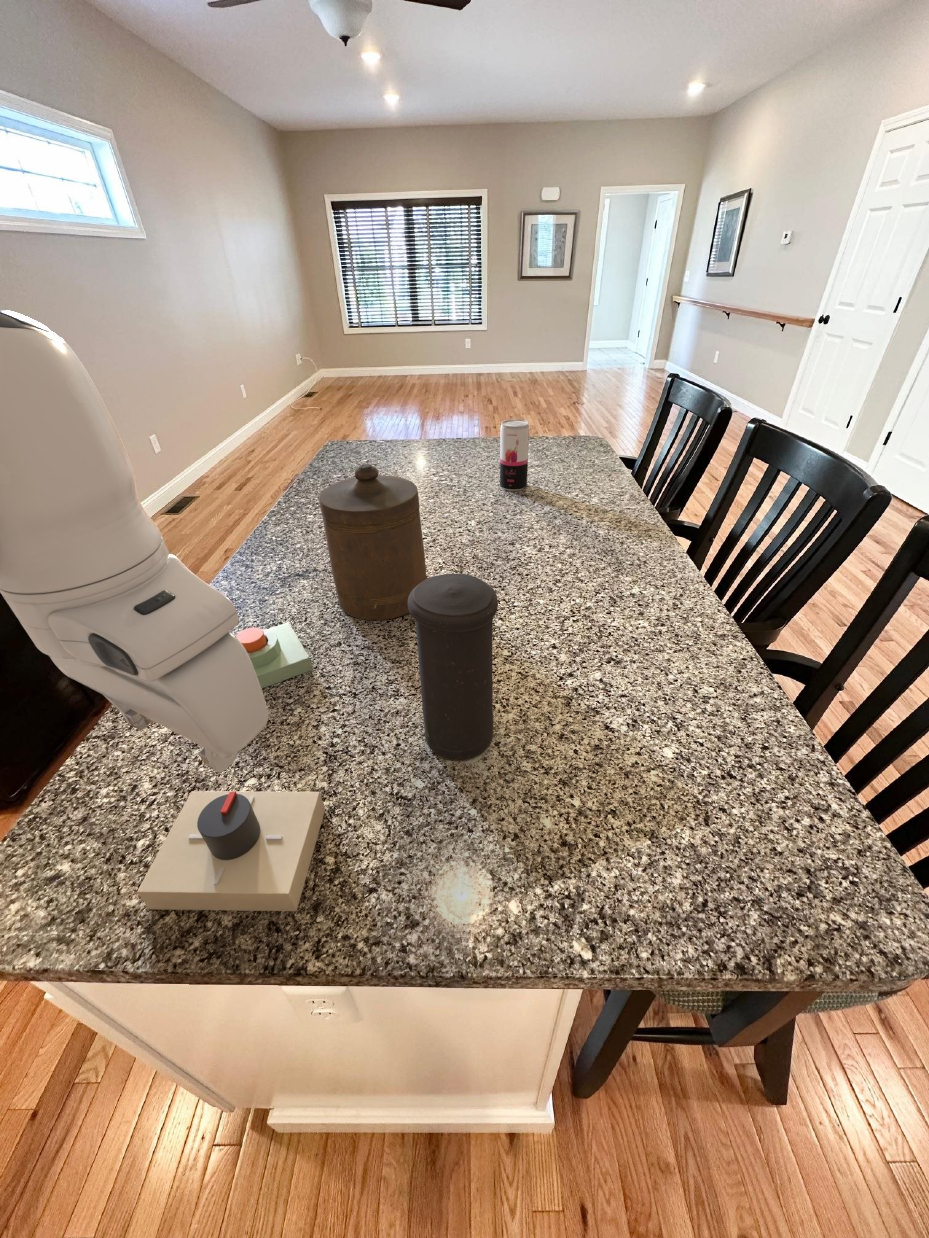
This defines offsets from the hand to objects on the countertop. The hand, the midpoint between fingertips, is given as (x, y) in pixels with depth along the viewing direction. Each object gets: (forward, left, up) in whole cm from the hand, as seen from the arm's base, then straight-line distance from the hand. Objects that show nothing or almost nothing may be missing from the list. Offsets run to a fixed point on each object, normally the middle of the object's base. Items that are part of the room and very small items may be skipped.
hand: (181, 741), depth 41 cm
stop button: (+9, +27, -11) cm, 30 cm away
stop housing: (+9, +27, -15) cm, 32 cm away
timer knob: (+1, -1, -12) cm, 12 cm away
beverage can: (+78, +62, -15) cm, 100 cm away
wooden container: (+31, +34, -15) cm, 48 cm away
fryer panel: (+1, -1, -15) cm, 15 cm away
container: (+26, +1, -15) cm, 30 cm away
